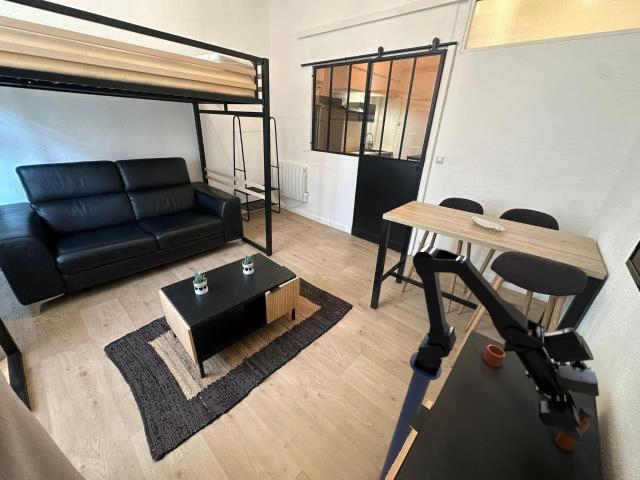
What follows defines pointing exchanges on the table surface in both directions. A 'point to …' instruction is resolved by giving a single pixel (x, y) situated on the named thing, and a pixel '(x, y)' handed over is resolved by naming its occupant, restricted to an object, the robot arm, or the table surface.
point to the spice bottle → (584, 416)
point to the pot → (493, 355)
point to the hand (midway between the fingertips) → (576, 423)
